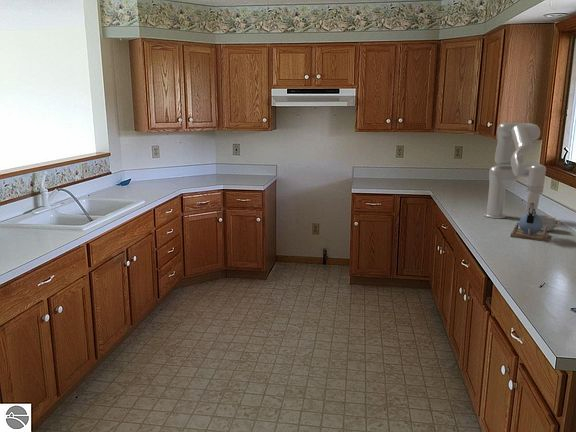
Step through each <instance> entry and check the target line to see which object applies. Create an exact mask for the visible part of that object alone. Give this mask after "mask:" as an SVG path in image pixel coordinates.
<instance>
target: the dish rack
mask: <svg viewBox="0 0 576 432" xmlns="http://www.w3.org/2000/svg"><path fill="white" fill-rule="evenodd" d="M547 228H548V226H545V228H544V231H541V230H540V231H539V232H537V236H533V235H530V234H531V229H528V235H526V234H522V230H521V229H520V228H519V222H516V224H515V225H514V226H513V229H512V231H511V233H510V238H517V239H523V240H524V239H525V240H531V241H539V242H547V241H548V238H549V236H550V235H549V234H550V231H547Z"/></svg>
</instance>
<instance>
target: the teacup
mask: <svg viewBox="0 0 576 432" xmlns="http://www.w3.org/2000/svg"><path fill="white" fill-rule="evenodd" d="M538 215H539V216H540V217H541V218H542V221H543V226H542V228H541V230H540V231H542V232H543V231H544V228H545V226H548V228H547V232H550V231H552V230H554V229H556V228H558V227H560V225H561V220H560V219H558V218H557V217H556V216H552V215H546V214H538ZM556 222H557V224H556Z"/></svg>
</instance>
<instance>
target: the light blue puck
mask: <svg viewBox="0 0 576 432" xmlns="http://www.w3.org/2000/svg"><path fill="white" fill-rule="evenodd" d="M527 215H528V212H527V213H525V214H522V216H521V217H520V219H519V220H518V223H519V226H518V228H519V229H521V230H522V234H526V235H528V229H531V234H530V235H533V236H537V232H539V231H541V228H542V226H543V221H542V218H541V217H540V216H539V215H540V214H538V213H537V212H536V213H534V222H533V224H532V223H527Z"/></svg>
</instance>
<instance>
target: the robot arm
mask: <svg viewBox="0 0 576 432" xmlns="http://www.w3.org/2000/svg"><path fill="white" fill-rule="evenodd" d="M496 136H497V143H496V148H495V153H494V162H495V163H496V164H498V165H493V166H491V167H490V168H489V171H488V177H489V179H488V180H489V181H488V182H489V186H488V194H487V195H488V196H487V205H486V206H487V207H486V212H484V213H483V217H486V218H491V219H505V218H506V217H507V216H506V214H504V210H505V199H506V192H507V191H506V190H507V189H506V186H505V184H504V183H503V182H517V181H518V180H519V178H521V177H523V178H525V177H526V178H527V184H526V192H527V193H528V194H527V200H526V206H525V211H526V212H527V211H528V212H527V213H528V215H527V223H532V224H533V222H534V213H536V214H537V210H538V208H539V202H540V196H541V194H542V193H543V192H544V186H545V180H546V172H547V168H546V165H542V164H541V163H539V162H525V161H524V155H527V154H528V153H530V152H531V151H532V150H533V148H534V145H533V141H535V140H538V139H539V138H540V136H541V129H540V127H539V126H538V125H537V124H535V123H529V122H501V123H500V124H499V125H498V126H497V129H496ZM513 145H514V147H515V148H513Z"/></svg>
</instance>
